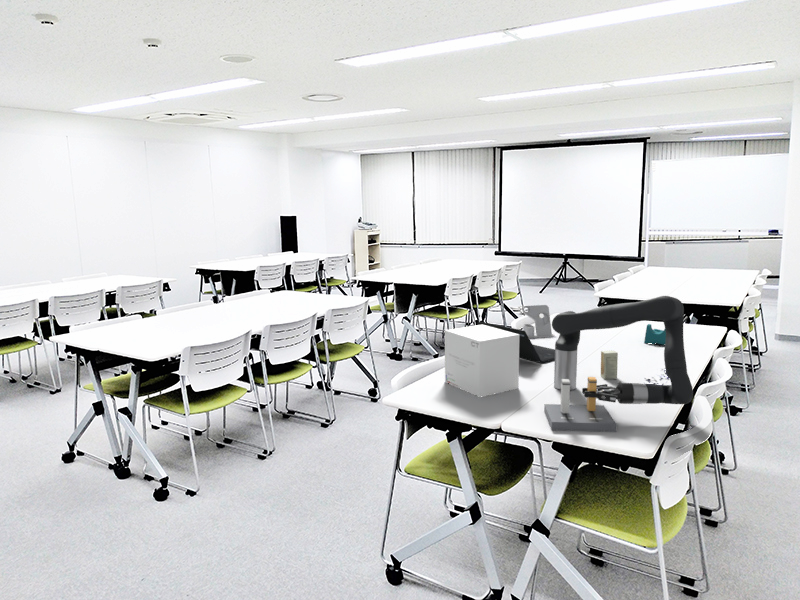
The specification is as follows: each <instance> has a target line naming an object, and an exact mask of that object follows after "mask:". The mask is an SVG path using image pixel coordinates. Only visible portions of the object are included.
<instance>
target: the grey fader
mask: <svg viewBox="0 0 800 600" xmlns="http://www.w3.org/2000/svg"><path fill="white" fill-rule="evenodd" d="M570 391H571V390H570V381H569V379H561V390H560V404H561V412H562V413H569V405H570V395H571V394H570V393H571V392H570Z"/></svg>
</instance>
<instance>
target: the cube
mask: <svg viewBox="0 0 800 600" xmlns="http://www.w3.org/2000/svg"><path fill="white" fill-rule="evenodd" d="M519 371H520V357H519V334H516V333H512V332H508V331H505V330H501V329H497V328H494V327H490V326H486V325H483V324H482V325H478V324H477V325H470V326H464V327H463V326H462V327H457V328H451V329H446V330H444V383H446V382H447V383H446V384H448V383H449V385H451V386H453V385H454V386H453V387H455V386H456V387H455V388H457V387H458V388H457V389H459V388H461V389H460V390H462V389H463V390H462V391H464V390H465V391H464V392H466V391H467V393H468V392H470V393H472V394H471V395H473V394H474V395H473V396H475V395H477V396H479V397H480V398H482V397H481V396H484V397H486V396H485V395H489V396H491V395H490V394H493V395H495V394H494V393H497V394H500V393H499V392H501V393H504V391H506V392H508V391H509V390H510V391H513V389H514V390H518V389H519V386H520V384H519V383H520V382H519V378H520V376H519V375H520V372H519ZM470 393H469V394H470ZM477 396H476V397H477ZM479 397H478V398H479Z"/></svg>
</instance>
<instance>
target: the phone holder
mask: <svg viewBox="0 0 800 600" xmlns="http://www.w3.org/2000/svg"><path fill="white" fill-rule="evenodd" d="M525 308H527V311H525ZM522 313H523V314H524V315H526V316H527V317H529V318H530V319H532V320H533V321H534V325H532V324H529V323H525V324H523V326H522V327H523V328H522V329H523V330H524V331H525V332H526V334H527V336H528V337H529V339H536V338H537V339H538V338H551V337H553V338H554V337H555V334H554V333H553V332H552V322H551V318H550V317H551V316H550V314H551V313H550V307H549V306H548V305H547V304H541V305H539V304H537V305H524V306H523V307H522ZM540 314H541V315H543V317H540Z"/></svg>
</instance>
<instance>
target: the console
mask: <svg viewBox="0 0 800 600" xmlns="http://www.w3.org/2000/svg"><path fill="white" fill-rule="evenodd" d="M543 407H544V411H543V413H544V414H545V417H546V420H547V423H548V426H549V427H551V428H550V430H551V431H574V432H575V431H577V432H607V433H608V432H610V433H611V432H613V433H616V432H617V423H616V421H615V419H614V418H613V417H612V415H611V414H610V411H608V409H607V408H606V407H605V405H603V404H602V405H601V404H600V405H599V404H598V405H597V404H596V409H595V411H588V409H587V404H569V413H562V412H561V403H560V404H559V403H558V404H555V403H551V404H550V403H545V404H544V406H543Z"/></svg>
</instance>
